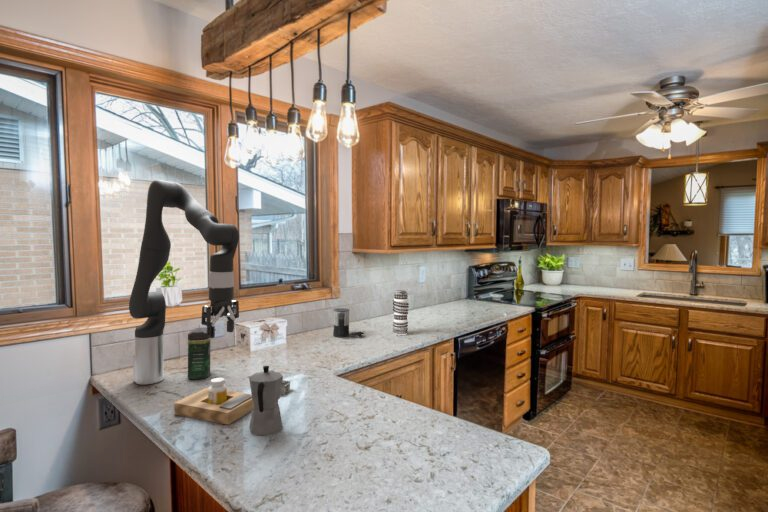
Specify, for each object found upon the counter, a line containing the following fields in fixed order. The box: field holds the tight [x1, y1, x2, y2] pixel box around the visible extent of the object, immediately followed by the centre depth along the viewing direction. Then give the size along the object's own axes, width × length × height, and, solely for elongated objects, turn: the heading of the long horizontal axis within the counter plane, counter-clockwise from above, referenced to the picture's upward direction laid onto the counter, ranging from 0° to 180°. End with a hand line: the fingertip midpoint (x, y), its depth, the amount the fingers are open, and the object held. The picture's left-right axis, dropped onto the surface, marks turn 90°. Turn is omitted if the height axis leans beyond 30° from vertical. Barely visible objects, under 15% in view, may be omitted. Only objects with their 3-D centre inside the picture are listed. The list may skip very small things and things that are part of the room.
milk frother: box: [332, 307, 365, 338], centre depth 227 cm, size 14×16×15 cm
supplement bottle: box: [208, 377, 228, 405], centre depth 128 cm, size 5×5×10 cm
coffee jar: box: [187, 327, 211, 380], centre depth 159 cm, size 10×8×19 cm
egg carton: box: [280, 379, 292, 396], centre depth 145 cm, size 11×8×4 cm
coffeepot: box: [248, 365, 284, 437], centre depth 115 cm, size 15×9×18 cm, turn 6°
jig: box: [173, 386, 254, 425], centre depth 128 cm, size 20×14×4 cm
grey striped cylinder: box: [392, 289, 410, 334], centre depth 233 cm, size 9×9×25 cm
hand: (220, 334), depth 133 cm, fingers open, 8 cm apart
